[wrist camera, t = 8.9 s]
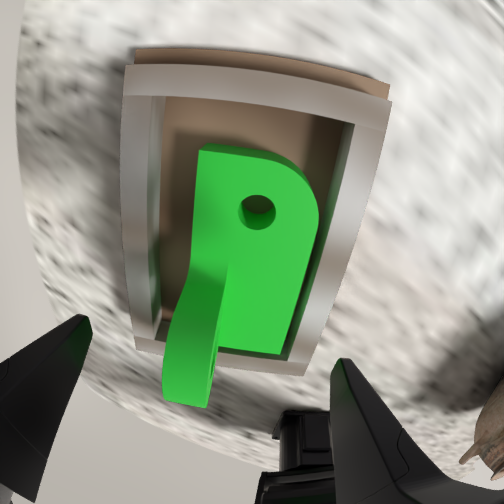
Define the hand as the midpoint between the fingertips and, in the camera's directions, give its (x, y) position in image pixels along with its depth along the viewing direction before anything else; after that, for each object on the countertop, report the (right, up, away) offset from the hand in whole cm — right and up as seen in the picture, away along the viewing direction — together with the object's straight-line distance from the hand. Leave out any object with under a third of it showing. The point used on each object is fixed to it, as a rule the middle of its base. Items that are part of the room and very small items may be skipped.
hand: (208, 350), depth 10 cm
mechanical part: (+1, +3, +8) cm, 9 cm away
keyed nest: (+1, +5, +8) cm, 10 cm away
